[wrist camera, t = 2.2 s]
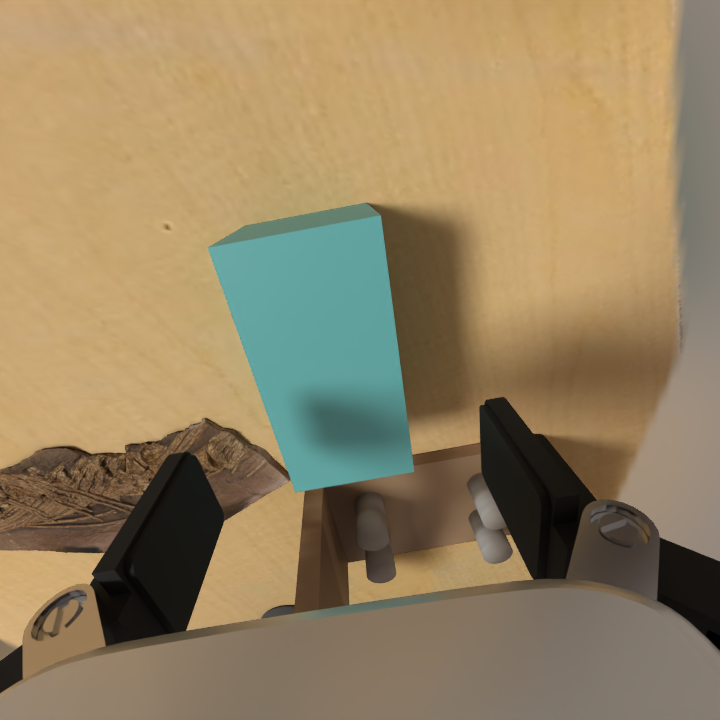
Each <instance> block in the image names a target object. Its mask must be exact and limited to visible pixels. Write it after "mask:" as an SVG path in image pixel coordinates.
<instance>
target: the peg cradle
mask: <svg viewBox="0 0 720 720" xmlns="http://www.w3.org/2000/svg"><path fill="white" fill-rule="evenodd" d="M412 458H413V465H414V472H411V473H405V474H399V475H394V476H388V477H382V478H376V479H371V480H365V481H359V482H353V483H348V484H342V485H336V486H330V487H324V488H319V489H313V490H307V491H305V496H304V507H303V518H302V530H301V541H300V552H299V564H298V575H297V587H296V598H295V609H294V614H295V613H301V612H308V611H314V610H321V609H327V608H333V607H340V606H346V605H349V586H348V563H349V562H355V561H360V560H366V571H367V578H368V579H369V580H370V581H371V582H374V583H385V582H388V581H390V580H392V579H393V578H394V577H395V576H396V568H395V562H394V556H393V555H395V554H401V553H407V552H412V551H418V550H424V549H430V548H436V547H441V546H447V545H453V544H459V543H464V542H470V541H476V540H477V543H478V545H479V548H480V550H481V553H482V555H483V558H484V560H485V561H486V562H488V563H492V564H496V563H501V562H504V561H506V560H507V559H509V558H510V557H511V555H512V553H513V550H512V548H511V546H510V544H509V542H508V539H507V537H506V535H511V534H510V532H509V530H508V528H507V526H506V524H505V521H504V519H503V517H502V515H501V513H500V511H499V509H498V507H497V505H496V503H495V501H494V499H493V497H492V495H491V493H490V491H489V489H488V487H487V485H486V483H485V480H484V478H483V475H482V470H481V443H478V444H473V445H467V446H462V447H456V448H450V449H445V450H439V451H434V452H428V453H422V454H417V455H412Z"/></svg>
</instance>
